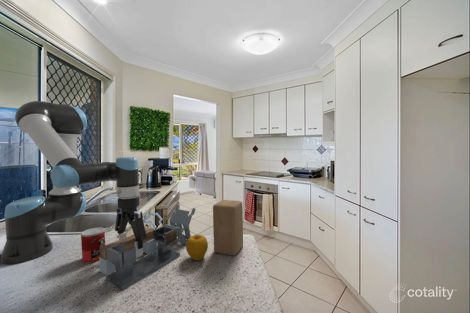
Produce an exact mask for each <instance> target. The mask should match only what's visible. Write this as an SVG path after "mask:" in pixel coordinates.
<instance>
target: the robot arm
mask: <svg viewBox="0 0 470 313" xmlns="http://www.w3.org/2000/svg"><path fill="white" fill-rule="evenodd" d="M14 120H15V123H16V125H17V127H18V128H19V129H20V130H21V132H23V133H25V134H27V135H28V136H29V137H30V139H31V141H33V143H34V144H35V145H36V147H37V148H38V149H39V151H40V152H41V153H42V155H43V156H44V158H45V159H46V160H47V161H48V163H49V165H50V166H51V167H52V169H51V170H50V180H51V183H52V189H51V190H50V191H49V192H48V197H45V196H44V195H35V196H29V197H25V198H21V199H16V200H14V201H12V202H10V203H8V204H7V205H6V206H5V208H4V215H3V216H4V217H3V218H4V220H5V223H4V224H5V235H6V236H5V238H6V241H5V245H4V247H3V249H2V252H1V254H0V263H2V265H3V264H4V265H12V264H14V265H15V264H19V263H24V262H27V261H32V260H34V259H37V258H40V257H42V256H44V255H46V254H47V253H49V252H51V251H52V250H53V248H54V246H53V242H52V240H51V238H50V236H49V234H48V232H47V225H50V224H54V223H57V222H60V221H63V220H64V221H65V220H68V219H72V218H74V217H79V216H80V215H81V214H82V213H83V212H84V211H85V209H86V206H87V197H86V195H85V194H84V193H83V192H82V191H81V189H80V188H79V187H78V186H83V185H91V184H97V183H98V184H99V183H103V182H104V183H105V182H116V193H117V195H116V196H117V209H116V219H115V226H114V231H115V232H116V233H117V235H118V240H121V239H123V238H126V237H127V226H128V225H130V227H131V230H132V233H133V235H134V236H135V238H136V240H135V241H134V242H135V247H136V259H138V258H140V257H142V256H144V252H143V239H145V238H146V237H147V236H146V231H145V230H146V227H145V224H144V219H143V218H144V217H143V215H144V214H143V212H142V211H139V212H138V209H137V208H138V207H139V206H140V203H141V202H140V196H139V195H140V184H139V180H140V179H139V178H140V177H139V176H140V175H139V168H140V167H139V161H138V160H139V159H138V158H137V157H134V156H127V157H126V156H125V157H121V156H120V157H117V158H116V159H115V162H114V161H104V162H103V161H102V162H94V163H93V162H92V163H82V162H81V160H79V158H78V154H77V153H78V138H79V137H80V136H81V135H82V133H83V132H84V131H85V130H86V129H87V127H88V121H87V115H86V114H85V113H84V111H83V110H82V109H80V108H79V107H76V106H72V105H66V104H60V103H54V102H53V103H52V102H49V101H48V102H47V101H41V100H35V101H34V100H33V101H29V102H26V103H25V104H22V105H21V106H20V107H18V108H17V110H16V111H15V116H14Z"/></svg>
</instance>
